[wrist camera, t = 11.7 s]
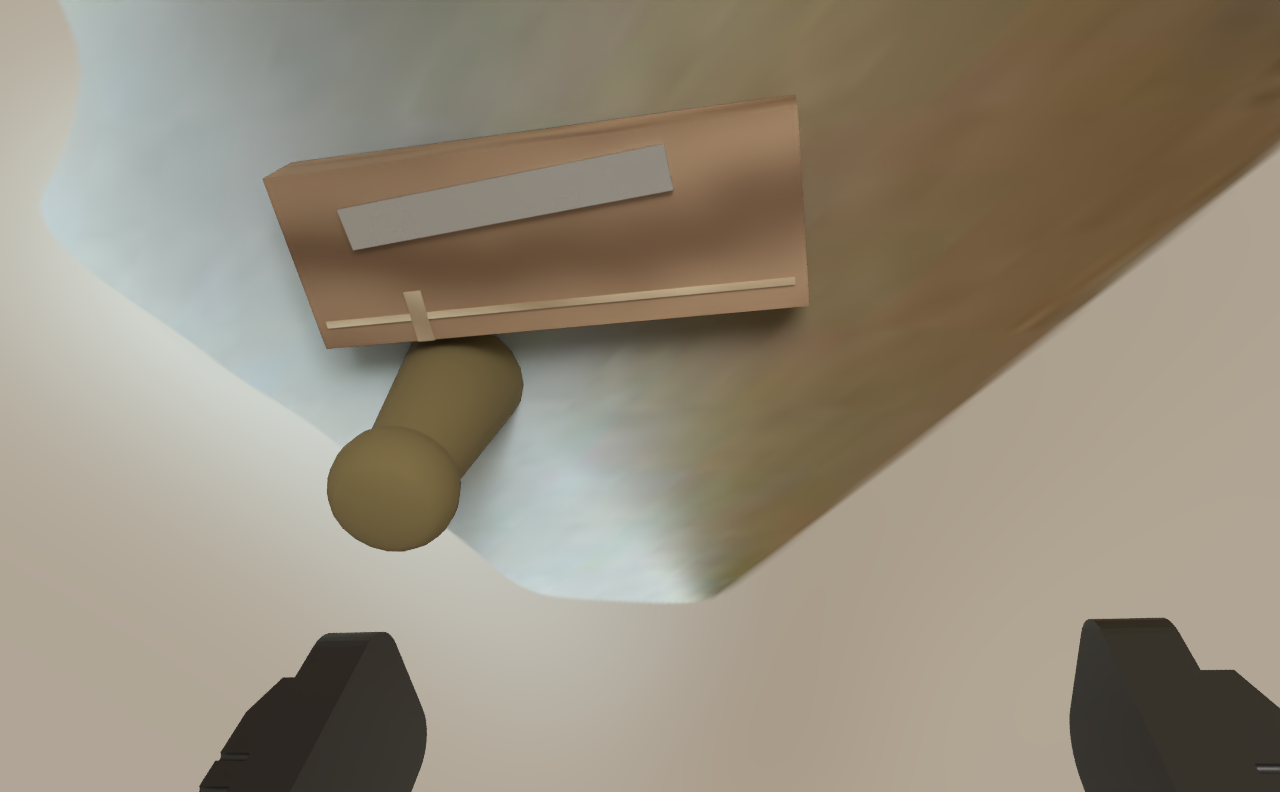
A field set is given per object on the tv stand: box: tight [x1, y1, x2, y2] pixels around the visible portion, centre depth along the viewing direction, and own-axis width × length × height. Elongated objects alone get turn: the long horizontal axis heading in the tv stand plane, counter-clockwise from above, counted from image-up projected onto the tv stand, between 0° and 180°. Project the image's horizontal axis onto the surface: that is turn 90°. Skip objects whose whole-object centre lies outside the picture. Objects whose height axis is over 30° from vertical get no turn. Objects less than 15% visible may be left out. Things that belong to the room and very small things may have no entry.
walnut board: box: [263, 95, 809, 349], centre depth 36 cm, size 8×22×3 cm, turn 98°
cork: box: [327, 334, 523, 551], centre depth 37 cm, size 6×6×11 cm
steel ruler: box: [337, 143, 674, 250], centre depth 34 cm, size 2×14×1 cm, turn 102°
